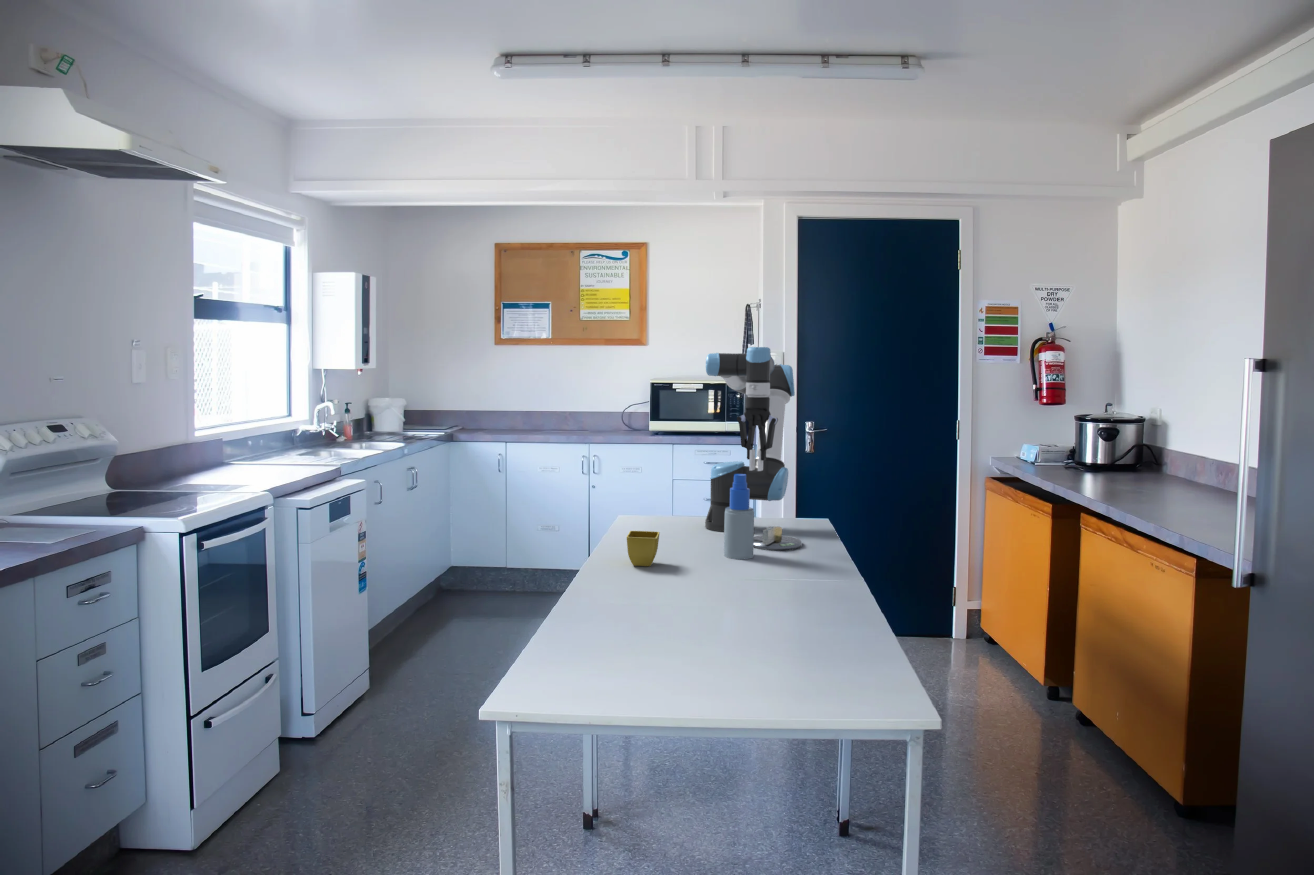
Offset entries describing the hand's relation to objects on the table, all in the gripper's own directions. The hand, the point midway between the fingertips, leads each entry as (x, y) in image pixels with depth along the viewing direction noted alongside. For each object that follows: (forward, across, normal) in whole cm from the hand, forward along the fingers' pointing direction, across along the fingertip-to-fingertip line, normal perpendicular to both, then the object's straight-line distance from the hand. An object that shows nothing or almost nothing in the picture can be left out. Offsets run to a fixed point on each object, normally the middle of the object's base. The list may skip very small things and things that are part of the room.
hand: (756, 470), depth 256 cm
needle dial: (+23, +5, +2) cm, 24 cm away
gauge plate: (+24, +5, +5) cm, 25 cm away
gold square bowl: (+25, -19, -38) cm, 50 cm away
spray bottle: (+25, +1, -15) cm, 29 cm away
